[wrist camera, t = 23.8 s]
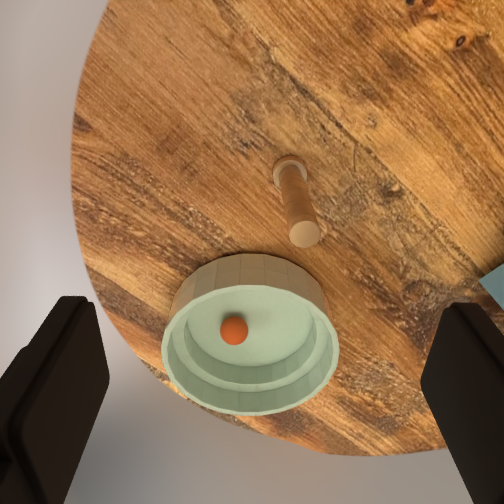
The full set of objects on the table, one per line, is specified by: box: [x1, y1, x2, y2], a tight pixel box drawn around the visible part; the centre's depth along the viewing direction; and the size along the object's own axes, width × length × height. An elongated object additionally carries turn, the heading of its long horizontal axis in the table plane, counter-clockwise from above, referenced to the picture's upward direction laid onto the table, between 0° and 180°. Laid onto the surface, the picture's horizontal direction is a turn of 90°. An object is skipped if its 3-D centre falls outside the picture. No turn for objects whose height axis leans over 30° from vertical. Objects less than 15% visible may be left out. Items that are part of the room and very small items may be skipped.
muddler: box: [272, 156, 321, 248], centre depth 31 cm, size 3×3×12 cm
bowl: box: [161, 254, 340, 416], centre depth 42 cm, size 17×17×6 cm
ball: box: [220, 316, 248, 345], centre depth 42 cm, size 3×3×3 cm
